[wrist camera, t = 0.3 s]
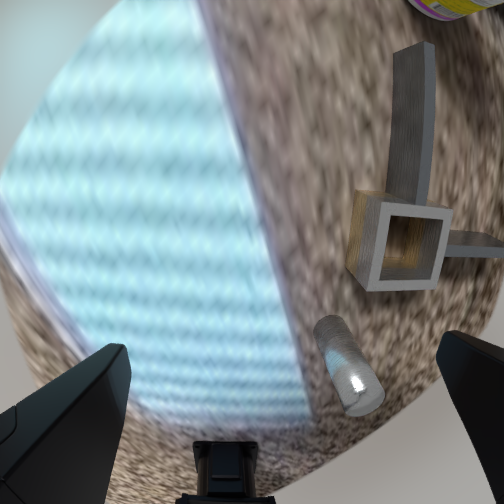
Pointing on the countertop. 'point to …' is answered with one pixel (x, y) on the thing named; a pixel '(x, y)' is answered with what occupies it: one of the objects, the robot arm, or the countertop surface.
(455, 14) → the supplement bottle
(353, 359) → the hinge pin
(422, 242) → the hinge
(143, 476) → the countertop surface
